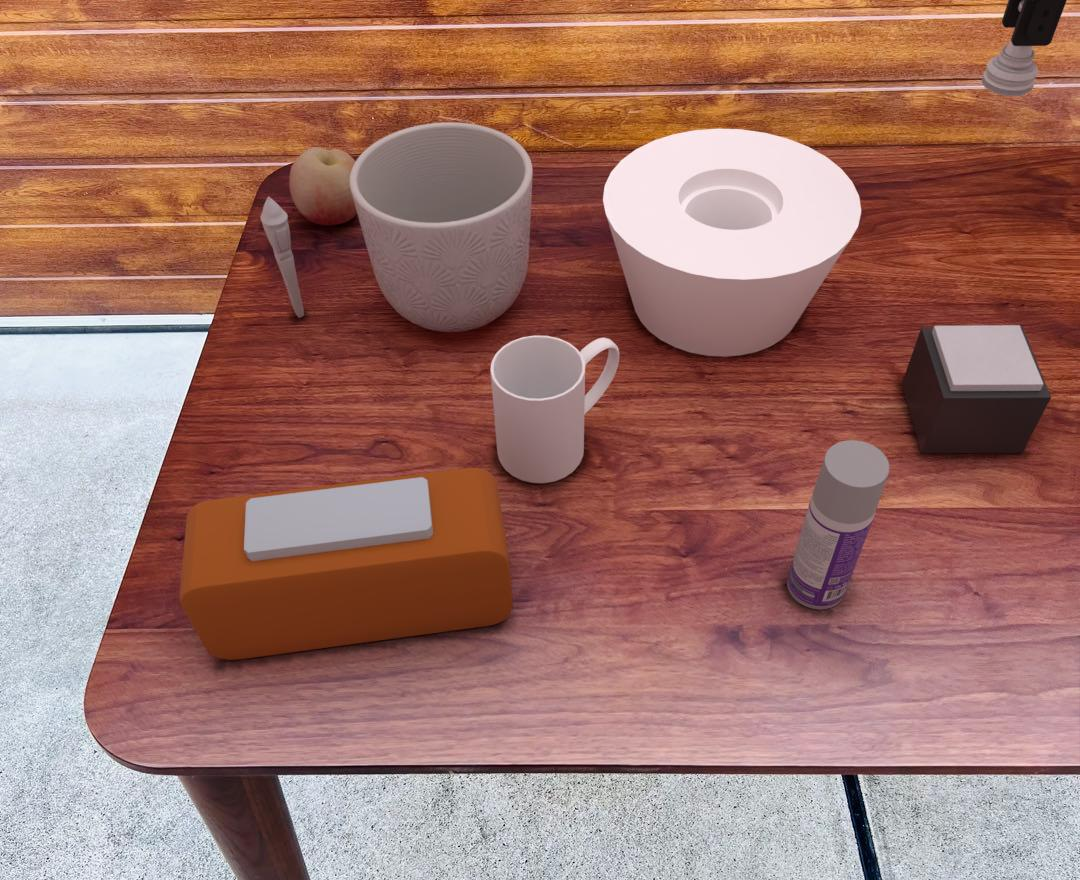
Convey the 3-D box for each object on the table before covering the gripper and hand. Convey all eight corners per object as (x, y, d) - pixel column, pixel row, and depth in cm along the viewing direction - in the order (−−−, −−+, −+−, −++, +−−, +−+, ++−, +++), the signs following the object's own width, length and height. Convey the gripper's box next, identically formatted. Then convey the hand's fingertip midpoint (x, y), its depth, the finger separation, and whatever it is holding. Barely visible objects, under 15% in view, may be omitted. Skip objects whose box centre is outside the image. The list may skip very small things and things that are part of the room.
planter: (564, 325, 102) (563, 193, 90) (409, 377, 98) (386, 247, 86) (497, 234, 112) (488, 104, 100) (352, 279, 108) (324, 149, 96)
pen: (306, 304, 105) (275, 185, 94) (317, 318, 104) (286, 199, 93) (284, 313, 105) (250, 194, 93) (294, 327, 103) (261, 208, 92)
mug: (528, 498, 88) (524, 414, 80) (481, 444, 93) (472, 358, 84) (638, 440, 92) (645, 354, 84) (588, 390, 96) (590, 304, 88)
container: (842, 564, 83) (887, 440, 71) (847, 611, 80) (895, 490, 69) (785, 561, 84) (820, 436, 72) (788, 607, 81) (825, 486, 69)
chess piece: (1039, 79, 90) (1083, -39, 82) (1023, 102, 88) (1068, -18, 80) (990, 67, 92) (1029, -51, 84) (974, 89, 89) (1012, -30, 81)
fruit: (364, 238, 112) (351, 174, 106) (292, 238, 112) (276, 174, 106) (373, 196, 117) (361, 132, 110) (304, 196, 117) (289, 133, 111)
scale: (999, 383, 96) (1029, 319, 90) (1025, 453, 90) (1059, 390, 84) (901, 383, 96) (923, 319, 90) (920, 453, 91) (946, 390, 84)
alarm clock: (502, 542, 86) (494, 452, 77) (515, 624, 81) (507, 537, 72) (217, 579, 84) (174, 491, 75) (211, 665, 79) (165, 581, 70)
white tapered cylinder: (880, 340, 100) (913, 238, 90) (662, 408, 95) (672, 308, 85) (760, 209, 113) (778, 108, 104) (564, 262, 108) (563, 161, 99)
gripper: (1212, -186, 66) (1097, 83, 81) (1134, -262, 76) (1044, -9, 91) (1095, -184, 67) (1002, 84, 81) (1033, -260, 77) (959, -8, 91)
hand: (1025, 33), depth 86 cm, fingers closed on chess piece, 2 cm apart
